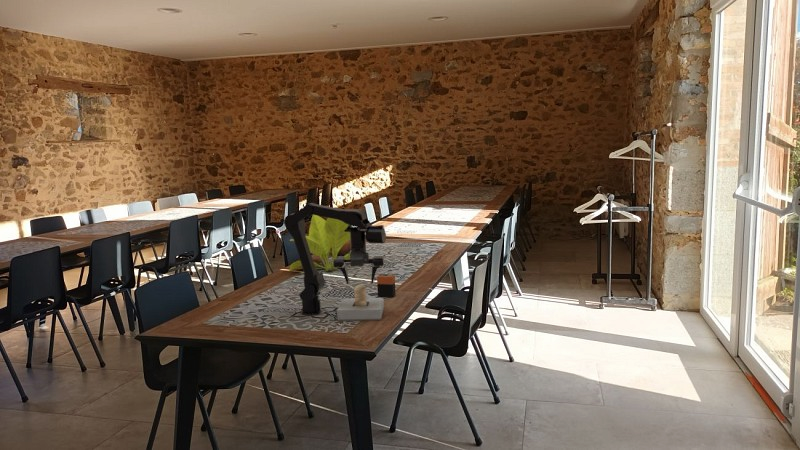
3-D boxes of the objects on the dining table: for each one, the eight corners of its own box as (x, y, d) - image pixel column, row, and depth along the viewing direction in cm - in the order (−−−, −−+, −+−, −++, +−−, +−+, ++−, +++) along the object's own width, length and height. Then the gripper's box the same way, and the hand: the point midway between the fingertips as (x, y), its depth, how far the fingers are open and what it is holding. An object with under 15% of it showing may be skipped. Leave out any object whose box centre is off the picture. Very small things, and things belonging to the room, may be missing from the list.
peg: (355, 314, 235) (354, 288, 233) (356, 311, 239) (355, 286, 237) (366, 314, 235) (364, 288, 233) (367, 311, 238) (365, 286, 237)
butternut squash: (325, 256, 352) (323, 213, 348) (334, 252, 365) (332, 210, 361) (348, 257, 348) (346, 213, 344) (356, 252, 361) (355, 210, 357)
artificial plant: (375, 275, 331) (365, 225, 343) (363, 243, 292) (352, 188, 304) (299, 292, 331) (292, 242, 344) (276, 263, 292) (269, 208, 305)
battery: (380, 294, 265) (379, 271, 264) (395, 295, 263) (395, 272, 262) (377, 297, 261) (376, 273, 260) (392, 297, 259) (391, 274, 257)
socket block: (337, 320, 229) (337, 310, 229) (343, 308, 245) (342, 299, 244) (380, 320, 228) (380, 309, 228) (383, 307, 244) (383, 298, 244)
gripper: (330, 247, 225) (332, 289, 227) (381, 246, 224) (383, 288, 227) (334, 242, 236) (336, 282, 238) (383, 241, 235) (385, 281, 238)
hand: (360, 283), depth 235 cm, fingers open, 9 cm apart
